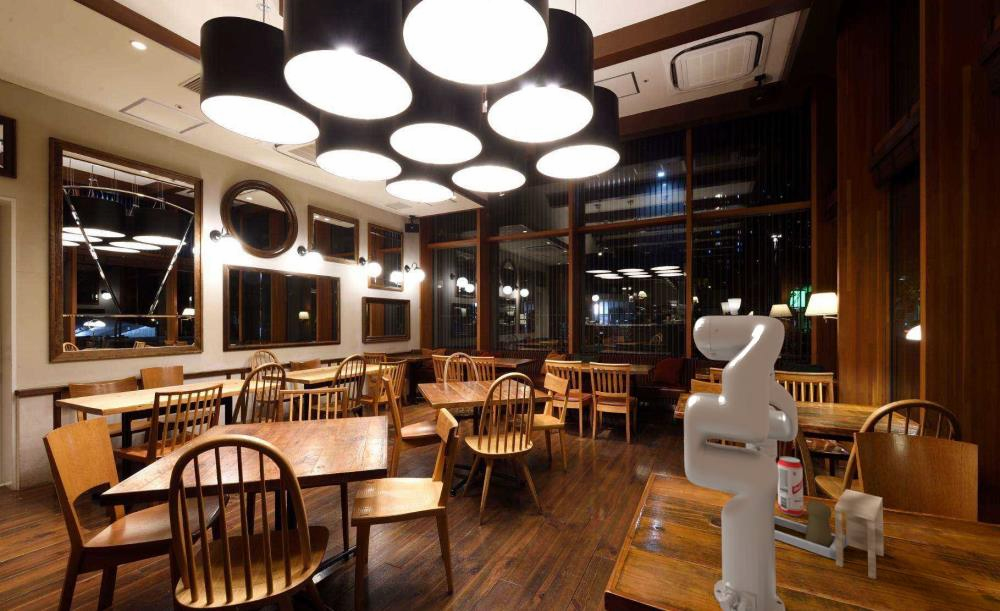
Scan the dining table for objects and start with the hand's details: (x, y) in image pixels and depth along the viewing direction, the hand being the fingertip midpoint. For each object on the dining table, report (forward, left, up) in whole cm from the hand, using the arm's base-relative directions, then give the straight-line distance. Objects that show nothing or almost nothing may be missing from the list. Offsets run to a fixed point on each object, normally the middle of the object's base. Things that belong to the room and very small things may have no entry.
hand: (762, 514), depth 116 cm
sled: (0, -7, -3) cm, 8 cm away
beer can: (+16, -3, -4) cm, 17 cm away
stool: (0, -21, -4) cm, 21 cm away
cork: (0, -13, -4) cm, 13 cm away
